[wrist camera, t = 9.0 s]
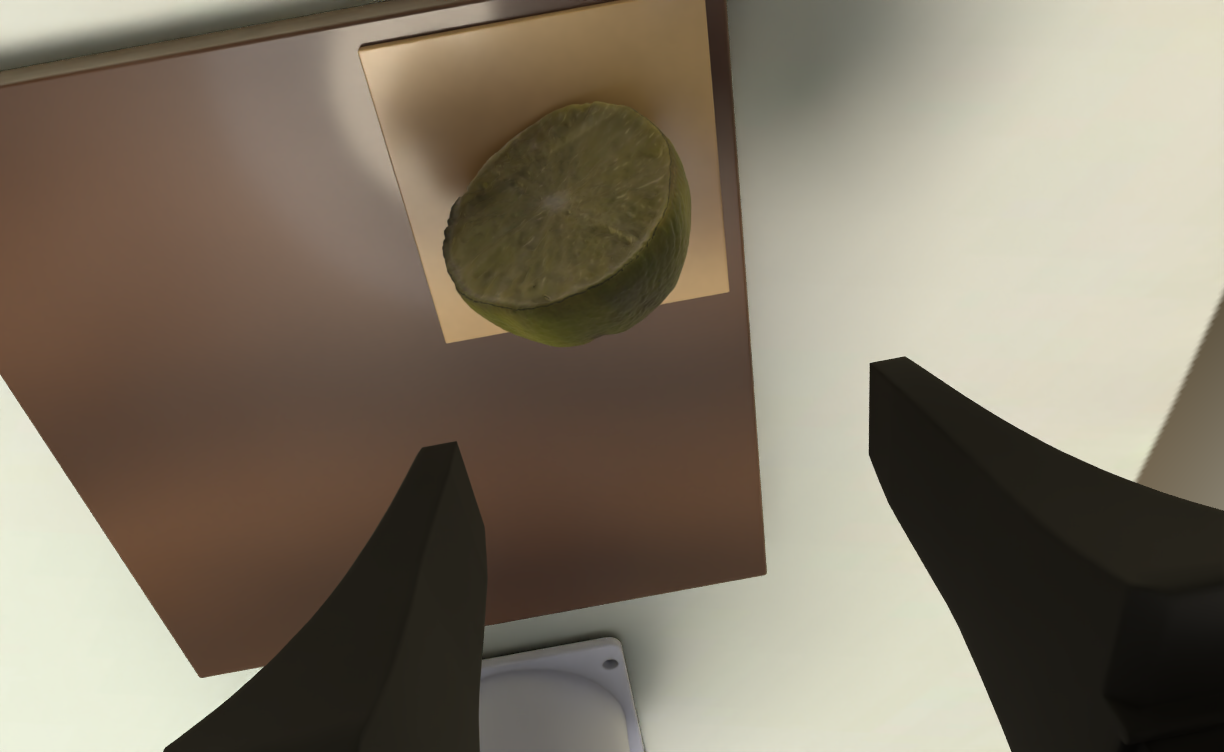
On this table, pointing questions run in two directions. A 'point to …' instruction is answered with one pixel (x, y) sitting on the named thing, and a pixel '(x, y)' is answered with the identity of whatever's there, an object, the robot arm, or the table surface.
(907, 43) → the table surface
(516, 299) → the lime
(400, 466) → the cutting board
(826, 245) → the table surface
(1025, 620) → the robot arm
